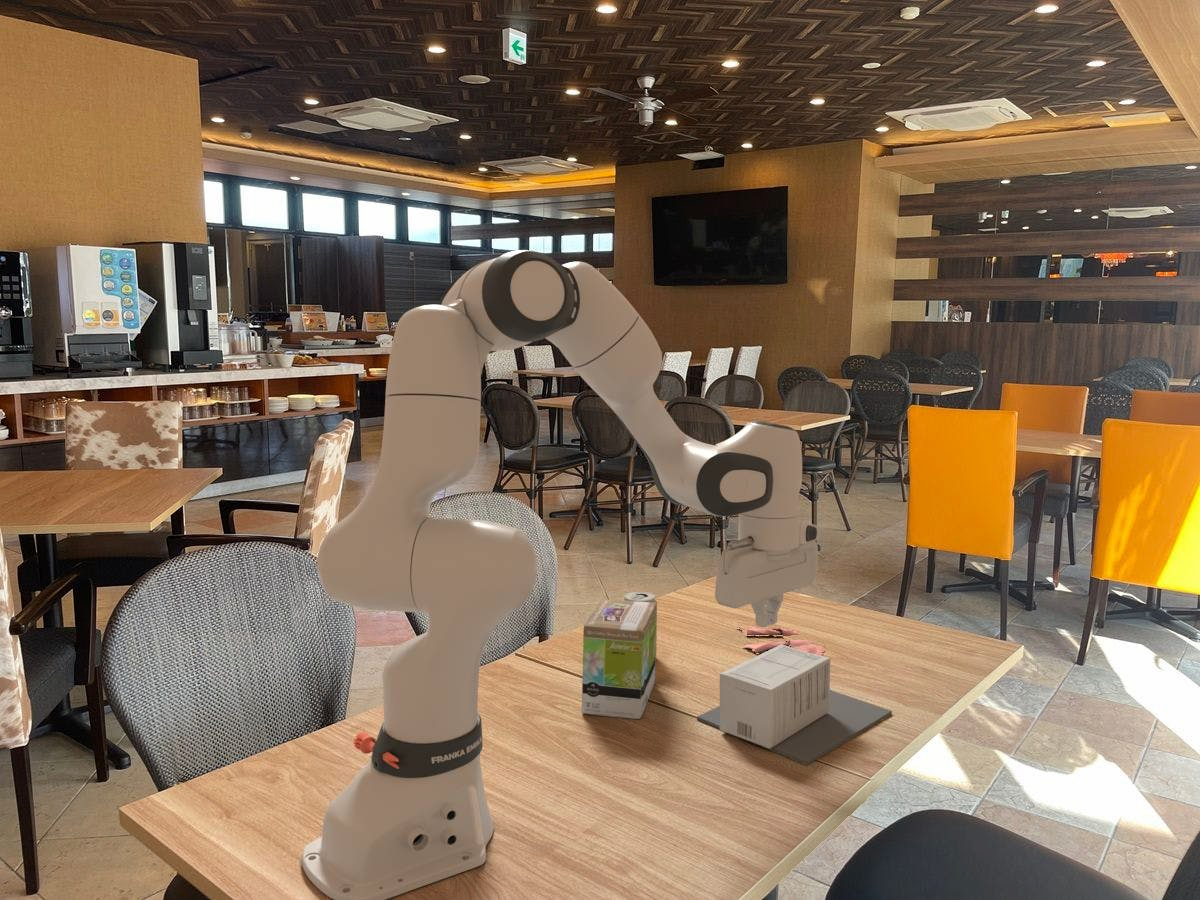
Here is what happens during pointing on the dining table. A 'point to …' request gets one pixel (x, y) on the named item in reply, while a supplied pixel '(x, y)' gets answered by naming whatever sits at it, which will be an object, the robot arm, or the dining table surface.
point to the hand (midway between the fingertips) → (766, 624)
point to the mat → (821, 728)
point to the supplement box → (774, 695)
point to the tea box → (619, 658)
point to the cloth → (780, 631)
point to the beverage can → (641, 598)
